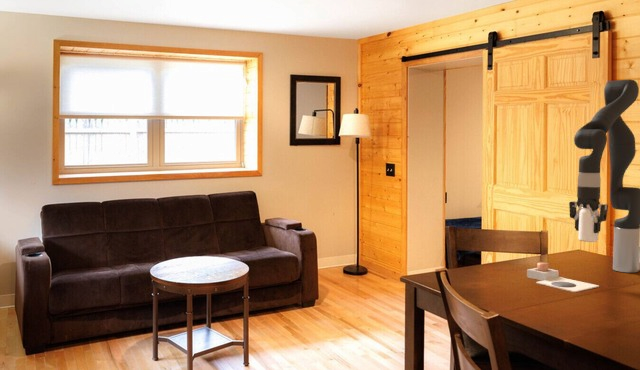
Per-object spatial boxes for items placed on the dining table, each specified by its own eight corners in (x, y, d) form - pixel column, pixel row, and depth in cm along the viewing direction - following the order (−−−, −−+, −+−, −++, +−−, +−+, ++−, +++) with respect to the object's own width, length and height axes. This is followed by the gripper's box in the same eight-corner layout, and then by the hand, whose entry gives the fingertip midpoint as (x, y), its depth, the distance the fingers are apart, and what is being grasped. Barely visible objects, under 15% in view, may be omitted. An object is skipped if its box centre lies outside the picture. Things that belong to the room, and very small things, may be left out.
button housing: (540, 274, 238) (540, 266, 238) (558, 278, 231) (558, 270, 231) (526, 277, 234) (527, 269, 233) (544, 281, 227) (544, 273, 227)
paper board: (560, 278, 232) (560, 277, 232) (599, 286, 218) (599, 285, 218) (535, 283, 224) (535, 281, 224) (574, 292, 211) (574, 290, 211)
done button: (541, 272, 235) (541, 262, 235) (550, 274, 232) (550, 263, 231) (534, 273, 233) (535, 263, 233) (543, 275, 230) (544, 265, 229)
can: (600, 242, 217) (601, 208, 217) (580, 241, 219) (581, 208, 218) (595, 239, 224) (596, 206, 223) (576, 238, 225) (577, 206, 224)
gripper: (614, 186, 216) (612, 233, 217) (577, 183, 228) (575, 228, 229) (601, 187, 211) (599, 235, 213) (564, 184, 223) (563, 230, 225)
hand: (587, 231), depth 221 cm, fingers closed on can, 6 cm apart
